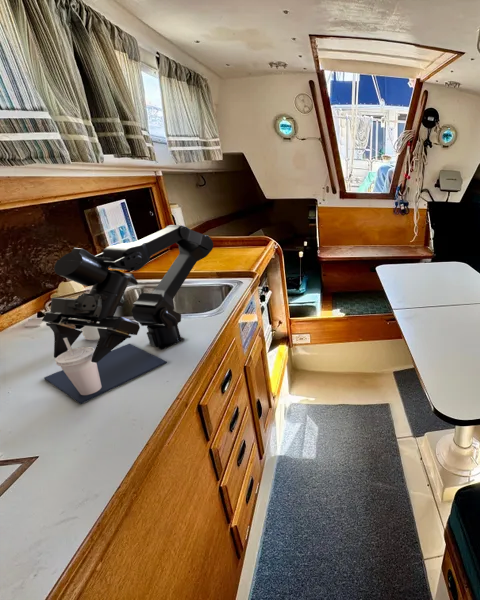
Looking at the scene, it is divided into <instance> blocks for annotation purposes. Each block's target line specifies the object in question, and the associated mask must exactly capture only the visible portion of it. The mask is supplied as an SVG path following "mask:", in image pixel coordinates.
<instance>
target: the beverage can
mask: <svg viewBox="0 0 480 600" xmlns="http://www.w3.org/2000/svg"><path fill="white" fill-rule="evenodd" d="M88 323H89V322H88ZM97 323H99V322H97ZM97 328H101V327H91V326H84V327H83V328H81V329H80V331H83V332H82V333H81V334H82V336H83V338H84V339H85V340H87V341H99V338H100V336H99V333H98V329H97ZM102 329H107V328H102Z"/></svg>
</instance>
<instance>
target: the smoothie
mask: <svg viewBox="0 0 480 600" xmlns="http://www.w3.org/2000/svg"><path fill="white" fill-rule="evenodd" d="M64 342H65V344H66V346H67V348H68V350H67V351H66V352H64V353H62V354H60V355H59V356H58V357H56V358H55V359H54V361H55V364H56V366H58V367H60V368H61V369H62V370H63V371H64V372H65V373H66V375H67V376H68V378H69V379H70V380H71V382H72V383H73V385H74V386H75V387H76V389H77V390H78V391H79V393H80V394H81V395H89V394H92V393H95V392H97V391H98V390H100V389H101V387H102V386H101V381H100V377H99V372H98V368H97V363H94V362H91V360H92V356H93V353H94V351H95V348H94V347H91V346H82V347H76V348H72V345H71V346H70V344H69V342H68V339H67V338H64Z"/></svg>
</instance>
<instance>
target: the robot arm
mask: <svg viewBox="0 0 480 600" xmlns="http://www.w3.org/2000/svg"><path fill="white" fill-rule="evenodd" d="M175 244H176V245H178V255H177V257H176V258H175V259H174V261H173V262H172V264H171V266H170V267H169V268H168V269H167V271H166V273H165V274H164V276H163V277H162V279H160V281H159V283H158V284H157V285H156V287H155V288H154V290H153V291H151V292H143V291H142V292H141V293H140V294H139V295H138V297H137V299H136V300H135V301H134V302H133V303H132V305H133V306H132V308H131V314H132V318H133V319H134V320H132V319H129V318H126V317H123V316H116V315H115V314H116V312H117V310H118V308H123V307H124V305H125V302H122V299H123V296H124V294H125V292H126V290H127V287H128V285H133V286H135V285H136V286H137V285H138V284H139V282H138V280H137V279H136V277H135V275H134V274H133V273H127V272H126V273H124V272H122V271H133V272H136V271H139V270H141V269H142V268H143V267H145V266H146V265H147V264H148V263H149V262H150V260H151V257H153V256H154V255H156V254H157V253H159V252H161V251H163V250H165V249H167V248H169V247H171V246H173V245H175ZM213 248H214V241H213V240H212V238H211V237H210V236H209V235H207V234H203V233H201V232H199V231H195V230H192V229H190V228H189V227H187V226H185V225H181V224H169V225H166V227H165V228H162V229H160V230H157V231H156V232H154V233H151V234H149V235H147V236H144V237H143V238H141V239H138V240H135V241H131V242H123V243H117V244H113V245H109V246H106V247H105V248H104V249H102V252H101V253H98V254H96V255H94V254H91V253H90V252H89V251H88V250H86V249H84V248H82V247H81V248H78V247H73V249H72V250H71V252H67V253H66V254H64V255H62V256H61V257H60V258H59V259H57V260H56V262H55V264H54V267H53V270H54V273H55V274H56V275H57V276H60V277H63V278H65V279H66V280H69V281H72V282H74V283H77V284H79V285H82V286H85V287H91V289H90V290H89V293H87V292H83V293H82V294H80V295H78V296H77V297H76V298H74V297H73V298H71V297H51V301H50V310H49V311H47V312H45V314H44V316H43V318H42V319H41V322H44V323H45V325H46V326H47V327H49V328H50V329H51V331H52V332H53V339H54V340H53V343H54V344H53V358H55V359H56V357H58V356H59V355H60V354H62V353H64V352H66V351H69V350H68V348H67V346H66V344H65V342H64V338H67V339H68V342H69V344H70V346H71V347H72V346H73V345H74V344H75V342H76V341H77V339H78V338H79V337H80V336H81V334H83V333H82V332H83V331H81V328H83V327H84V326H91V327H101V328H97V329H98V333H99V336H100V338H99V340H97V342H96V343H97V344H96V346H95V348H94V350H95V351H94V353H93V356H92V360H91V362H94V363H97V362H98V361H100V360H101V359H102V358H103V357H104V356H106V355H107V354H108V353H109V352H110V351H112V350H115V349H116V347H118V346H119V345H120V344H121V343H124V342H125V340H127V339H131V338H132V336H138V333H139V331H140V329H141V327H144V326H145V327H146V329H147V332H146V335H147V338H148V344H149V345H150V346H152V347H154V348H156V349H159V350H161V351H162V350H165V349H167V348H170V347H173V346H174V345H176V344H179V343H180V342H184V341H185V337H183V336H182V335H181V332H180V330H179V326H178V325H179V323H181V322H182V314H181V313H179V312H177V311H175V303H174V298H175V296H177V293H178V292H179V291H180V289H181V287H182V286H183V285H184V283H185V281H186V280H187V278H188V276H189V275H190V273H191V272H192V270H193V268H194V267H195V265H196V264H197V262H199V261H201V260H203V259H204V258H207V257H208V255H209V254H210V253H211V252H212V251H213ZM120 270H121V271H120ZM88 322H89V323H88ZM97 322H99V323H97ZM102 328H107V329H102Z"/></svg>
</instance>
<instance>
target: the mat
mask: <svg viewBox="0 0 480 600" xmlns="http://www.w3.org/2000/svg"><path fill="white" fill-rule="evenodd" d="M166 364H168V362H167V360H165V359H162V358H161V357H158V356H156V355H154V354H153V353H150V352H148V351H146V350H145V349H142V348H139V347H138V346H136V345H133V344H131V343H126V344H125V345H122V346H119V347H117V348H114V349H113V350H111V351H110V352H109V353H108V354H107V355H106V356H104V357H103V358H102V359H101V360H100V361H98V362H97V368H98V372H99V377H100V381H101V386H102V387H101V389H100V390H98V391H97V392H95V393H92V394H89V395H81V394H80V393H79V391H78V390H77V389H76V387H75V386H74V385H73V383H72V382H71V380H70V379H69V378H68V376H67V375H66V373H65V372H64V371H63V369H62V370H59V371H57V372H54V373H51V374H49V375H47V376H44V377H43V379H44V380H45V381H47V382H48V383H50V384H51V385H53V386H54V387H56V388H57V389H58V390H60V391H61V392H62V393H64V394H65V395H67V396H68V397H69V398H71V399H72V400H74V401H75V402H77V403H78V404H79V405H82V404H85V403H86V402H89V401H91V400H93V399H96V398H97V397H99V396H102V395H103V394H106V393H107V392H109V391H112V390H114V389H116V388H118V387H120V386H122V385H125V384H126V383H128V382H131V381H133V380H134V379H136V378H139V377H140V376H143V375H145V374H147V373H149V372H151V371H153V370H155V369H157V368H159V367H162V366H164V365H166Z"/></svg>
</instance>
